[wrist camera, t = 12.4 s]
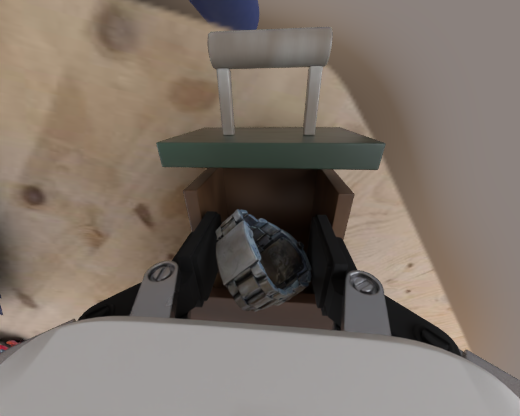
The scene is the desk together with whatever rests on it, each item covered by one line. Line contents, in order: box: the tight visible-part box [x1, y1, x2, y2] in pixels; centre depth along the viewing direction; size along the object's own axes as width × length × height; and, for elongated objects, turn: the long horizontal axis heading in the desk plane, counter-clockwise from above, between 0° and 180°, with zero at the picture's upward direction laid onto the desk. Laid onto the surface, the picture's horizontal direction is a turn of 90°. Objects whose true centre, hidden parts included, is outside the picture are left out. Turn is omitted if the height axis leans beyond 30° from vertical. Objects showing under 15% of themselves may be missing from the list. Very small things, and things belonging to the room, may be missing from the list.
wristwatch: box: [215, 209, 311, 312], centre depth 10 cm, size 3×5×5 cm
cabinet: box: [191, 288, 333, 330], centre depth 19 cm, size 14×12×9 cm
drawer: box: [156, 27, 385, 294], centre depth 13 cm, size 17×10×7 cm, turn 1°
